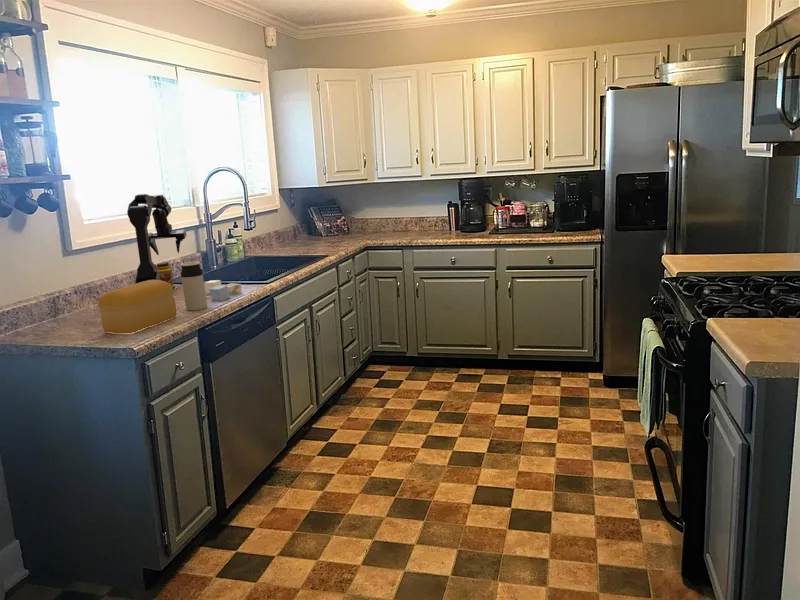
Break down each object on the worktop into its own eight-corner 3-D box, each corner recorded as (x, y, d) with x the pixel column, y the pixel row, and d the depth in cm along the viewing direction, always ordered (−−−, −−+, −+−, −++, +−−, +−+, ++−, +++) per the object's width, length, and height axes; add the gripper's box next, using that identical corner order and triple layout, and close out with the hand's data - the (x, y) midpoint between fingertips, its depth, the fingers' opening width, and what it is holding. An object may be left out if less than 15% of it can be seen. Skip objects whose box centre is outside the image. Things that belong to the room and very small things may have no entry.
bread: (150, 316, 253) (144, 277, 249) (178, 317, 248) (172, 277, 245) (102, 334, 230) (94, 292, 227) (132, 335, 226) (125, 292, 223)
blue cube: (220, 301, 270) (218, 289, 269) (212, 300, 273) (209, 288, 271) (229, 297, 274) (227, 285, 273) (221, 296, 277) (218, 285, 275)
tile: (229, 298, 273) (229, 297, 273) (222, 298, 275) (222, 297, 275) (240, 295, 278) (240, 294, 278) (233, 295, 280) (233, 294, 280)
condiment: (165, 291, 302) (161, 265, 299) (153, 290, 306) (148, 264, 303) (178, 287, 308) (174, 262, 305) (165, 287, 312) (161, 261, 309)
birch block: (231, 296, 278) (230, 287, 277) (221, 295, 281) (220, 286, 281) (242, 293, 283) (240, 284, 282) (232, 292, 286) (230, 283, 285)
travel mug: (201, 310, 255) (194, 264, 251) (182, 311, 256) (175, 265, 253) (211, 306, 262) (204, 260, 258) (192, 306, 264) (185, 261, 260)
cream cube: (215, 294, 286) (214, 282, 285) (205, 294, 288) (204, 282, 287) (222, 291, 291) (220, 280, 290) (212, 291, 293) (210, 280, 292)
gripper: (184, 214, 310) (191, 245, 317) (143, 218, 309) (151, 249, 316) (180, 222, 301) (187, 254, 308) (138, 226, 299) (146, 258, 306)
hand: (168, 253), depth 309 cm, fingers open, 9 cm apart
